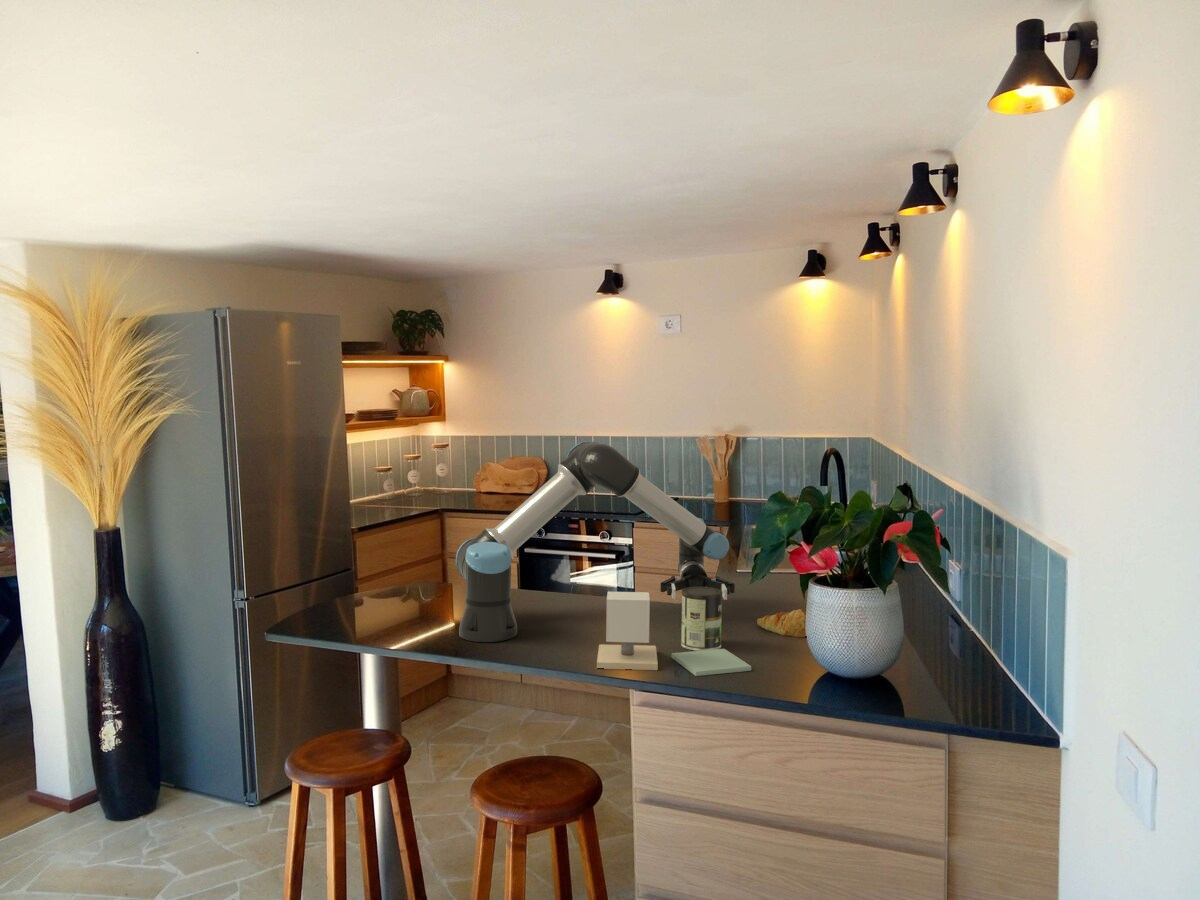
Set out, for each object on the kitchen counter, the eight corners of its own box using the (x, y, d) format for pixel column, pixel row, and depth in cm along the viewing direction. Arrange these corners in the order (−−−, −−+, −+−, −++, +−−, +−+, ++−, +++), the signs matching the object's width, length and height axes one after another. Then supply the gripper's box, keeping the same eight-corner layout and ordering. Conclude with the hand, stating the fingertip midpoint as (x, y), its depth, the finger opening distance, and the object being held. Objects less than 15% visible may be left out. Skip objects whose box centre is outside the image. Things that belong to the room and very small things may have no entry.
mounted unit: (596, 668, 191) (597, 602, 190) (599, 650, 205) (599, 588, 204) (657, 670, 190) (658, 603, 189) (655, 651, 204) (656, 589, 203)
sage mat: (695, 676, 187) (695, 671, 187) (671, 657, 200) (671, 653, 200) (751, 670, 191) (751, 666, 191) (724, 652, 204) (724, 648, 204)
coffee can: (718, 639, 215) (719, 586, 214) (723, 652, 205) (725, 595, 204) (678, 639, 215) (679, 585, 214) (682, 651, 205) (683, 595, 204)
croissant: (753, 642, 225) (750, 620, 222) (762, 618, 233) (759, 596, 229) (833, 652, 216) (830, 629, 212) (839, 626, 224) (837, 603, 220)
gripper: (736, 590, 240) (747, 608, 219) (650, 589, 241) (652, 607, 220) (737, 564, 240) (747, 580, 219) (650, 563, 241) (652, 580, 219)
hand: (699, 594), depth 219 cm, fingers open, 13 cm apart
